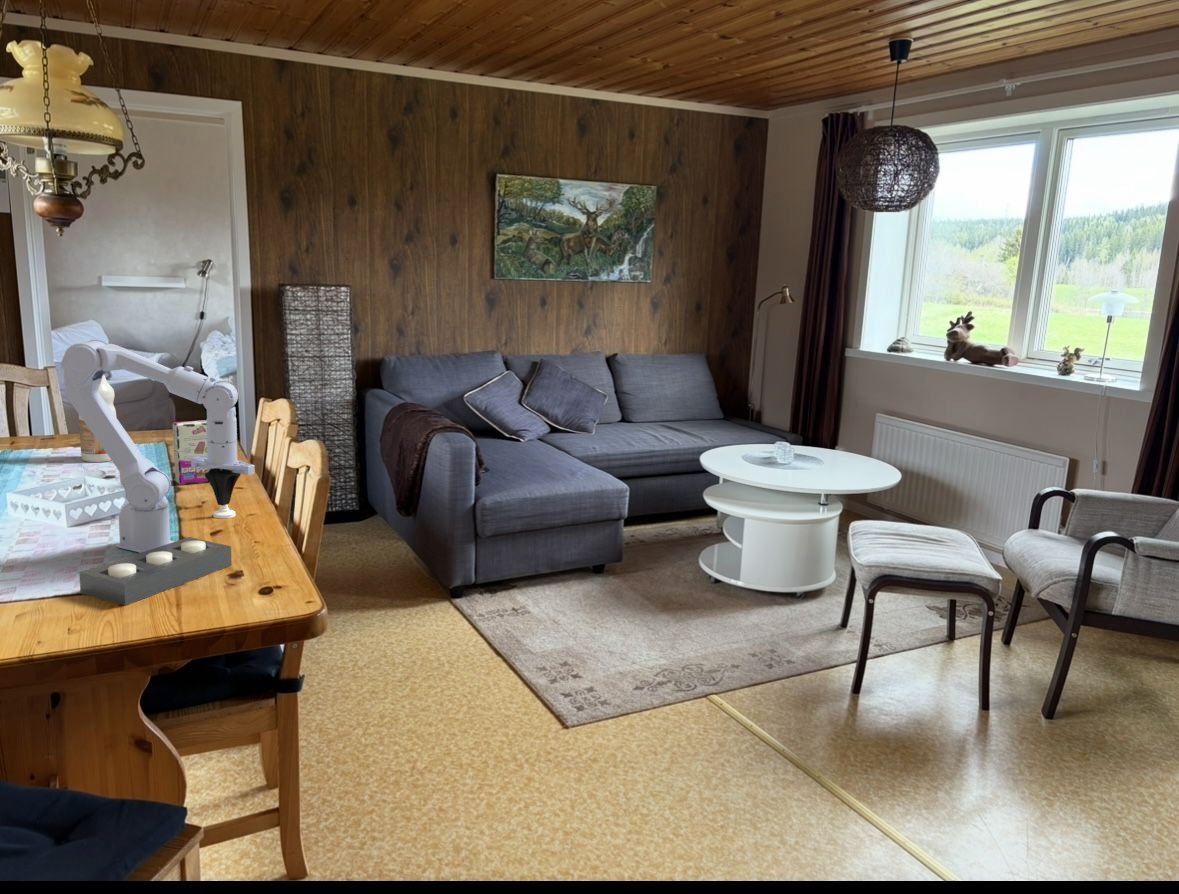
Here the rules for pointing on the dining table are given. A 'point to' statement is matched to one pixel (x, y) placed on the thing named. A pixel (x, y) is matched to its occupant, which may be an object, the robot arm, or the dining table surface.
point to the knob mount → (154, 572)
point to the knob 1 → (121, 570)
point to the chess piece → (224, 512)
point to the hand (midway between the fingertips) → (223, 504)
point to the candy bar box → (189, 451)
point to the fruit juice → (88, 441)
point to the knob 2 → (193, 546)
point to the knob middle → (159, 557)
